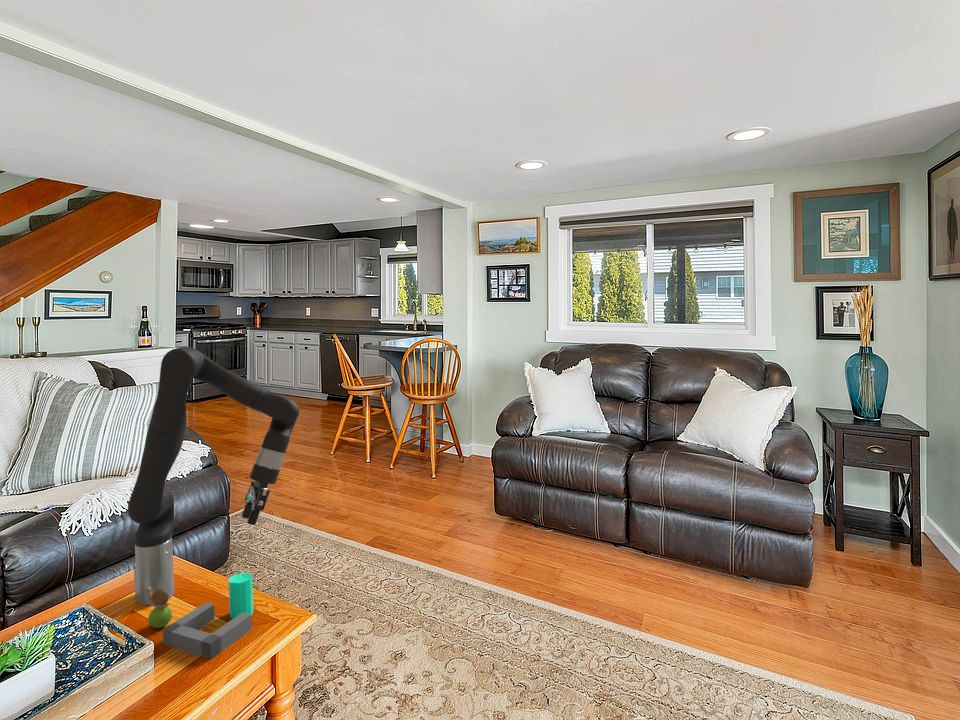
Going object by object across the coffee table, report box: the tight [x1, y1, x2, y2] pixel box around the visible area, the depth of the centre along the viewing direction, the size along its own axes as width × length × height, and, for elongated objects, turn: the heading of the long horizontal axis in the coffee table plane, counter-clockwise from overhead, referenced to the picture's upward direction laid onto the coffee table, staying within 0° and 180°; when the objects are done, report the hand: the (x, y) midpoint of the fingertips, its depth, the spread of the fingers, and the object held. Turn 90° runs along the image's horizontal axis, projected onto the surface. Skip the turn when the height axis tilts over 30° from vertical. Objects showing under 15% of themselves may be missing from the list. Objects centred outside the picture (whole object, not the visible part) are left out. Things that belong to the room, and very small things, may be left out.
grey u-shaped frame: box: [162, 602, 253, 660], centre depth 133 cm, size 16×13×4 cm
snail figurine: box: [145, 582, 173, 629], centre depth 137 cm, size 5×6×12 cm
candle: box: [228, 572, 254, 620], centre depth 143 cm, size 6×6×12 cm
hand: (248, 520), depth 148 cm, fingers open, 8 cm apart
